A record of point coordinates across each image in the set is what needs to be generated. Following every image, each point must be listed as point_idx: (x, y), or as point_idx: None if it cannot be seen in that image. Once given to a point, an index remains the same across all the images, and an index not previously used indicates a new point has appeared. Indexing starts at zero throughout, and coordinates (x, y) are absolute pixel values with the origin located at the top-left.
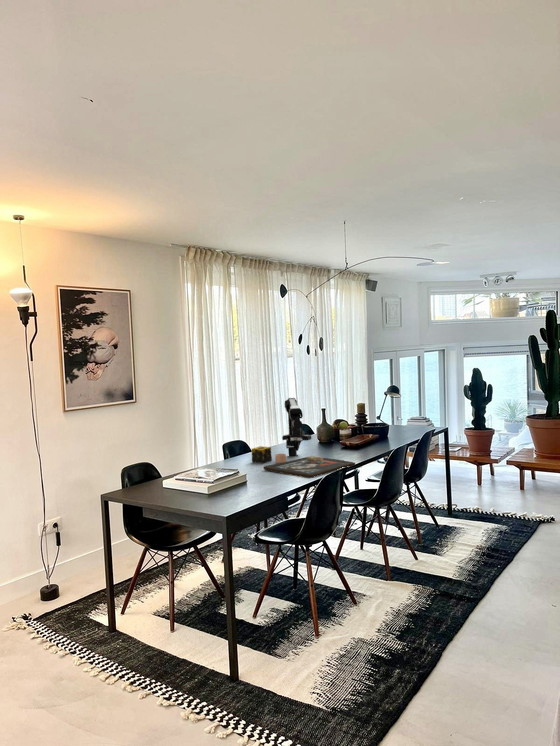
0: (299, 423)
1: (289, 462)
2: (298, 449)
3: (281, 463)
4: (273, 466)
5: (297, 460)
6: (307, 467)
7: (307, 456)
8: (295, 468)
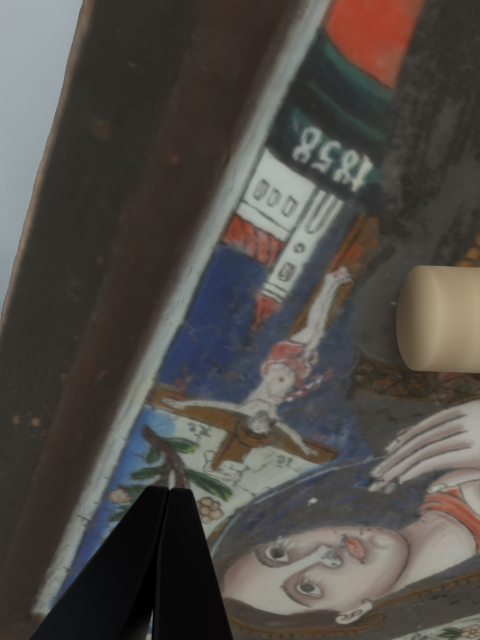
0: None
1: (88, 415)
2: (199, 516)
3: (14, 503)
4: (16, 617)
5: (152, 231)
6: (437, 568)
7: (438, 337)
8: (301, 615)
